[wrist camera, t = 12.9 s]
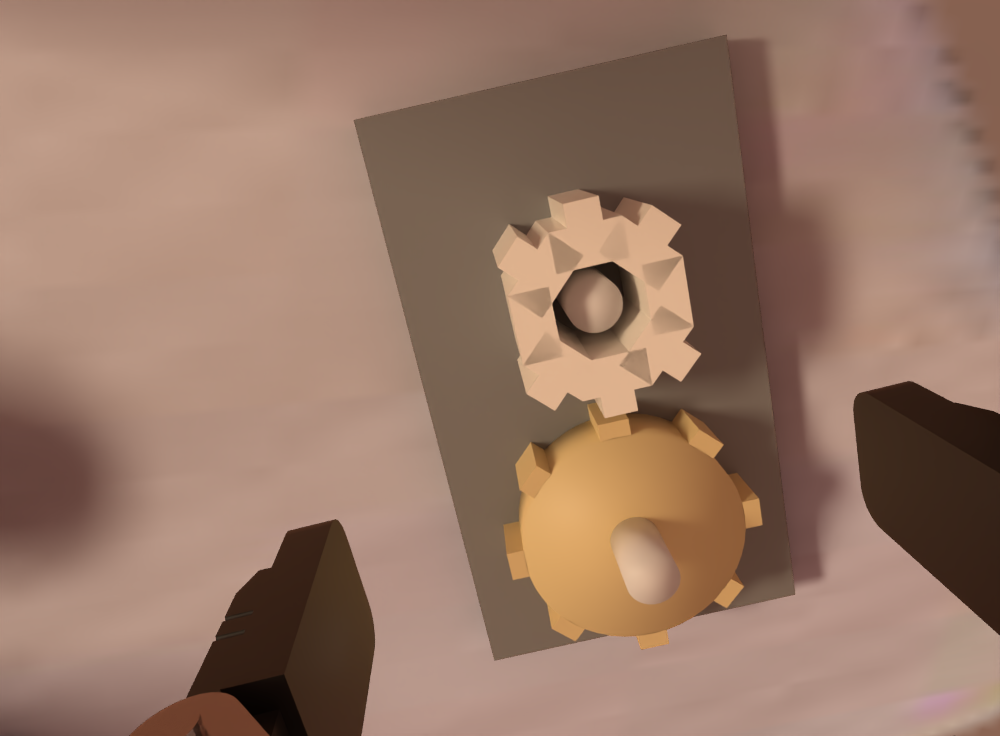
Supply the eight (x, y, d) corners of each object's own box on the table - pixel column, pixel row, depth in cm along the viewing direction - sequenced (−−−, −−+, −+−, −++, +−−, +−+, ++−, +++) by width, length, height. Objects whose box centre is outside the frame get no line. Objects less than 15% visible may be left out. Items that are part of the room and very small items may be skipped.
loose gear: (483, 211, 29) (487, 221, 25) (642, 174, 29) (674, 177, 25) (525, 395, 31) (535, 433, 27) (673, 360, 31) (707, 394, 27)
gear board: (359, 121, 29) (328, 112, 22) (713, 40, 29) (789, 6, 22) (493, 640, 36) (500, 752, 29) (781, 576, 36) (856, 675, 29)
